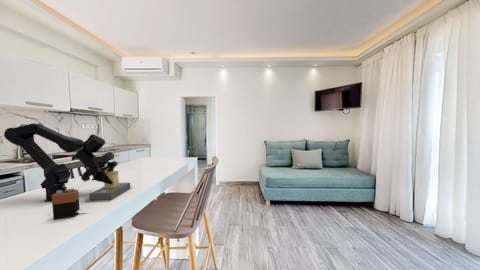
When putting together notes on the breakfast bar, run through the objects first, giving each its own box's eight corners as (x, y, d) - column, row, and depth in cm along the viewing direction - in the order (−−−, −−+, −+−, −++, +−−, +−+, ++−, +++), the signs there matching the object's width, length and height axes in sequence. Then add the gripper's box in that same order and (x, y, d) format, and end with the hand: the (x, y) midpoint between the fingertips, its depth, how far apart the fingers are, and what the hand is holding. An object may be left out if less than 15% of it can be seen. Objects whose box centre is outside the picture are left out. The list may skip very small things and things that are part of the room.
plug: (104, 194, 96) (103, 172, 95) (109, 192, 99) (108, 171, 99) (114, 194, 96) (113, 172, 95) (119, 192, 99) (118, 170, 99)
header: (85, 206, 87) (84, 195, 87) (113, 190, 107) (113, 181, 107) (109, 205, 87) (108, 194, 87) (133, 190, 107) (132, 181, 107)
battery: (75, 216, 77) (73, 190, 76) (53, 220, 75) (50, 192, 74) (80, 212, 81) (78, 186, 81) (58, 215, 79) (56, 189, 78)
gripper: (86, 149, 87) (114, 175, 88) (113, 145, 106) (136, 166, 106) (68, 168, 87) (96, 193, 88) (98, 160, 106) (121, 181, 107)
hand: (114, 182), depth 97 cm, fingers closed on plug, 4 cm apart
